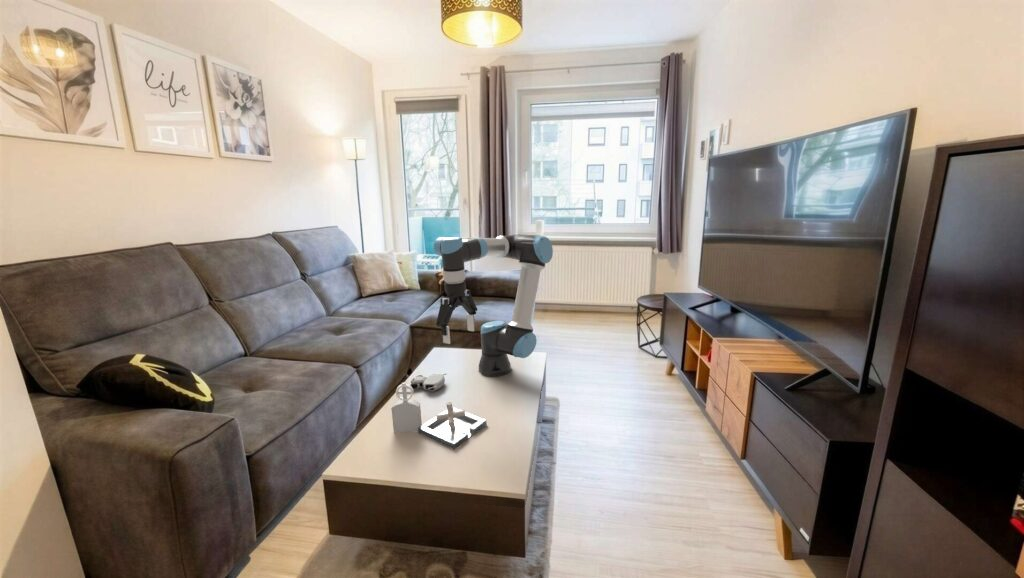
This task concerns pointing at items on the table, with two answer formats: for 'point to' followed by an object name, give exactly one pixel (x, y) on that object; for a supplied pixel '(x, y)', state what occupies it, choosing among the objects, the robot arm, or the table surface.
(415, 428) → the gravestone
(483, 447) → the table surface
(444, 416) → the pipe connector
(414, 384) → the robot toy
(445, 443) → the square metal tray
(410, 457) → the table surface
